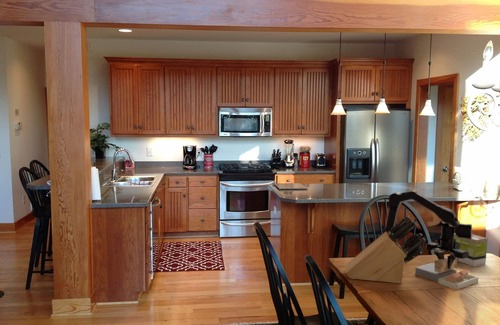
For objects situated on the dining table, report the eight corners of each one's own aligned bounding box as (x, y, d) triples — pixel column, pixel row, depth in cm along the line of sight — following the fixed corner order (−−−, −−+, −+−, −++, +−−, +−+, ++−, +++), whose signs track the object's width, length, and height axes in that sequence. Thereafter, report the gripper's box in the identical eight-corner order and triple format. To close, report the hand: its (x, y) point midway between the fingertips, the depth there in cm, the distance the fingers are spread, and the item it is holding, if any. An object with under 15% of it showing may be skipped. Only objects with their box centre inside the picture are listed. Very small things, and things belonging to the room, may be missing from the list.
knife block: (424, 286, 191) (427, 220, 188) (345, 279, 198) (347, 215, 196) (419, 278, 202) (423, 215, 199) (345, 271, 209) (347, 210, 207)
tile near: (445, 280, 195) (448, 283, 193) (451, 273, 192) (455, 277, 191) (451, 278, 197) (454, 281, 196) (457, 272, 195) (461, 275, 193)
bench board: (439, 282, 196) (439, 275, 196) (415, 274, 207) (415, 267, 207) (456, 277, 204) (456, 270, 204) (431, 269, 215) (432, 262, 214)
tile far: (454, 277, 199) (457, 281, 197) (460, 270, 196) (463, 274, 195) (460, 275, 201) (463, 279, 200) (466, 269, 199) (469, 272, 197)
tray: (456, 290, 187) (456, 284, 187) (438, 283, 195) (438, 278, 194) (477, 282, 197) (478, 277, 197) (459, 276, 205) (459, 271, 204)
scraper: (440, 272, 196) (440, 262, 196) (434, 271, 198) (434, 260, 198) (456, 268, 204) (457, 258, 203) (451, 266, 206) (451, 256, 206)
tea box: (449, 258, 233) (450, 232, 232) (461, 256, 238) (463, 231, 236) (473, 267, 220) (475, 239, 218) (486, 264, 224) (488, 237, 223)
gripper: (476, 238, 196) (474, 270, 198) (439, 229, 212) (437, 259, 213) (462, 241, 190) (461, 274, 191) (426, 232, 206) (424, 263, 207)
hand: (445, 267), depth 201 cm, fingers closed on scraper, 3 cm apart
